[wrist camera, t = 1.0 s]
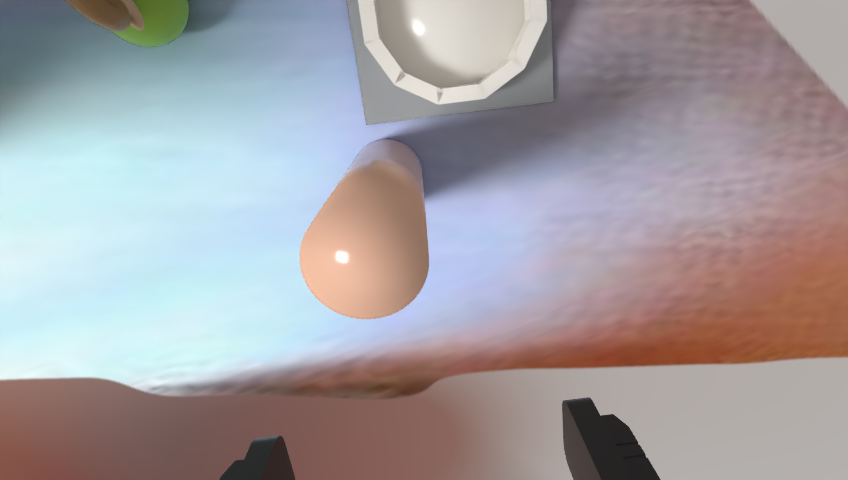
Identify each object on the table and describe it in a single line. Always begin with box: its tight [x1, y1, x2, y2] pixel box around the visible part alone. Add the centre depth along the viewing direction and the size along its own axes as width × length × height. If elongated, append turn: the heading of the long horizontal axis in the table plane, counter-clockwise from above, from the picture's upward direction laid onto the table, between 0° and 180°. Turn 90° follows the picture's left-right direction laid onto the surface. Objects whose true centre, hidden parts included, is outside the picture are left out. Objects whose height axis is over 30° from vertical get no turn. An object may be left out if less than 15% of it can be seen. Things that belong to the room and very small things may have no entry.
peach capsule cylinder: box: [300, 139, 429, 319], centre depth 29 cm, size 6×6×18 cm
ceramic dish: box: [358, 0, 547, 105], centre depth 32 cm, size 12×12×3 cm
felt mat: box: [347, 0, 554, 125], centre depth 33 cm, size 14×14×1 cm
